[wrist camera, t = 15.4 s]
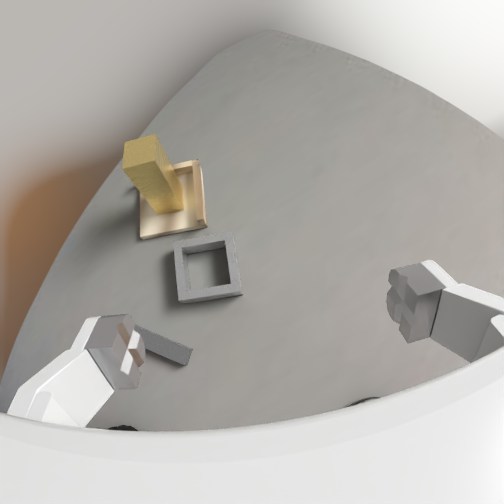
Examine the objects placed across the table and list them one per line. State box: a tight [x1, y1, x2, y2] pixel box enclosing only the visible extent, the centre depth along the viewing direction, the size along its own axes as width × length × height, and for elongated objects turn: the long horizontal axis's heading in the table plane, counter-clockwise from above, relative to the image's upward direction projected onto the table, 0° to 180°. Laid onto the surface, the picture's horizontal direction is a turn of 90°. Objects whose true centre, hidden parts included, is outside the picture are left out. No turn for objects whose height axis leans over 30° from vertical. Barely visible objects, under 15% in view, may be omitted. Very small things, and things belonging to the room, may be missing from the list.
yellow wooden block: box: [122, 134, 184, 215], centre depth 41 cm, size 4×4×14 cm
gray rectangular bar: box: [134, 325, 193, 365], centre depth 42 cm, size 10×2×2 cm, turn 71°
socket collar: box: [173, 231, 243, 304], centre depth 44 cm, size 9×9×3 cm
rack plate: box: [140, 159, 208, 239], centre depth 48 cm, size 11×11×3 cm
